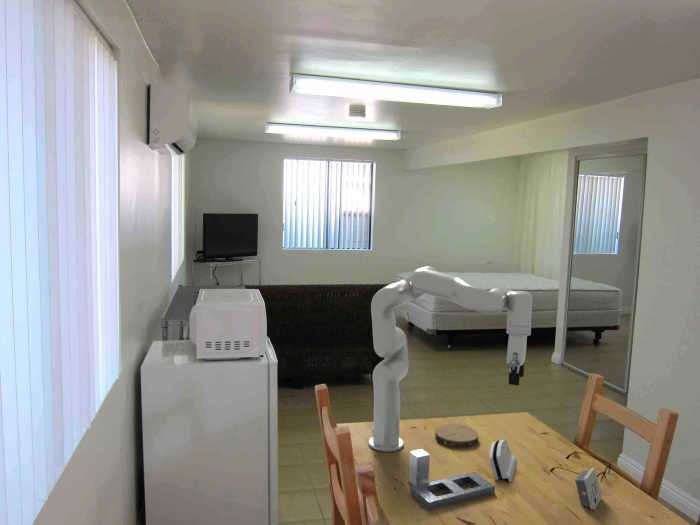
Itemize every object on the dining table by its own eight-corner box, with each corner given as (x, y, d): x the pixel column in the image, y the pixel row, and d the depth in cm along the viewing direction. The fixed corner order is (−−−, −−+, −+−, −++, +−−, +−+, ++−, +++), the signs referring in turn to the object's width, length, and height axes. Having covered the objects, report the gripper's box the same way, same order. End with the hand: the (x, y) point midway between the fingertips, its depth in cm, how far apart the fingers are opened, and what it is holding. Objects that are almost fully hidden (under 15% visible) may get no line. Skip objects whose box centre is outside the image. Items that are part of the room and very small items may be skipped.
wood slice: (446, 428, 224) (446, 420, 223) (484, 438, 214) (484, 430, 214) (427, 441, 211) (427, 433, 210) (467, 453, 201) (467, 445, 201)
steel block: (408, 481, 180) (409, 451, 179) (420, 478, 182) (421, 448, 181) (416, 487, 176) (417, 457, 175) (428, 484, 178) (429, 454, 177)
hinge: (510, 482, 180) (501, 452, 180) (496, 484, 182) (487, 454, 182) (516, 461, 195) (508, 433, 196) (503, 462, 197) (494, 435, 197)
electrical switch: (593, 511, 164) (592, 480, 163) (575, 507, 167) (574, 476, 167) (602, 498, 171) (600, 468, 171) (584, 494, 174) (583, 465, 174)
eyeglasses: (595, 490, 177) (596, 478, 176) (547, 473, 187) (547, 462, 187) (613, 472, 189) (614, 461, 188) (566, 457, 199) (567, 447, 199)
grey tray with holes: (410, 494, 172) (410, 486, 171) (474, 479, 182) (474, 471, 182) (428, 510, 163) (428, 502, 162) (494, 493, 173) (494, 486, 173)
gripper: (511, 323, 192) (508, 371, 194) (502, 333, 176) (499, 386, 178) (534, 325, 189) (531, 374, 191) (527, 336, 173) (524, 389, 175)
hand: (516, 380), depth 184 cm, fingers open, 9 cm apart
